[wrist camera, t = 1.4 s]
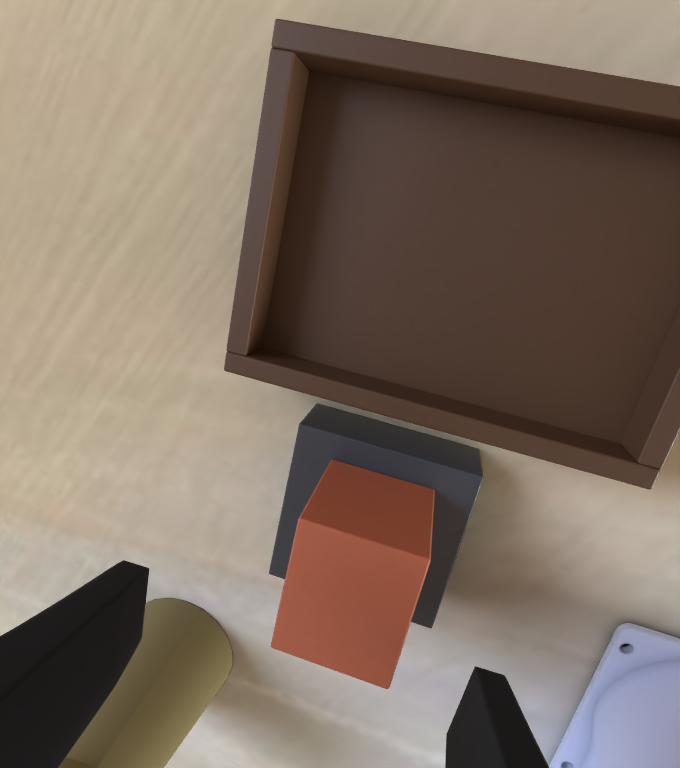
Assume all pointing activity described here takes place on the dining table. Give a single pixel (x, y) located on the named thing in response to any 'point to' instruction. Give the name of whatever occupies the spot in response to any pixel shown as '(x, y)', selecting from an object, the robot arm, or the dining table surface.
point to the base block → (392, 458)
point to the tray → (467, 247)
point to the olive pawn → (157, 690)
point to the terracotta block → (356, 572)
